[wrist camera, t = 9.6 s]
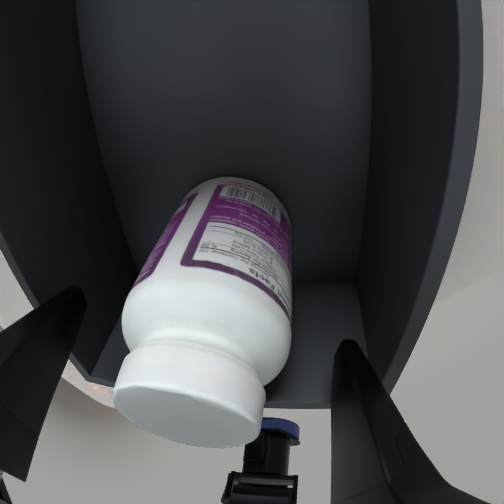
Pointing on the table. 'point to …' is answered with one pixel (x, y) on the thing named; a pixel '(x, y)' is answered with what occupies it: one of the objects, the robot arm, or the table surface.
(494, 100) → the table surface
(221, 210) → the pill bottle
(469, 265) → the table surface
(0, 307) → the table surface
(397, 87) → the open storage box
